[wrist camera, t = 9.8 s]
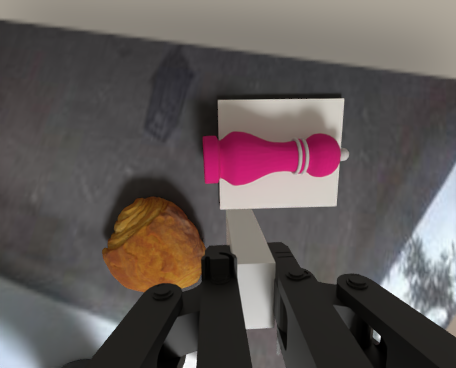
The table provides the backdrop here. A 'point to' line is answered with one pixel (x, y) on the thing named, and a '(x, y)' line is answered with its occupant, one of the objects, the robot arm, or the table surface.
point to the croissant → (154, 246)
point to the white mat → (281, 132)
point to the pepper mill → (268, 157)
